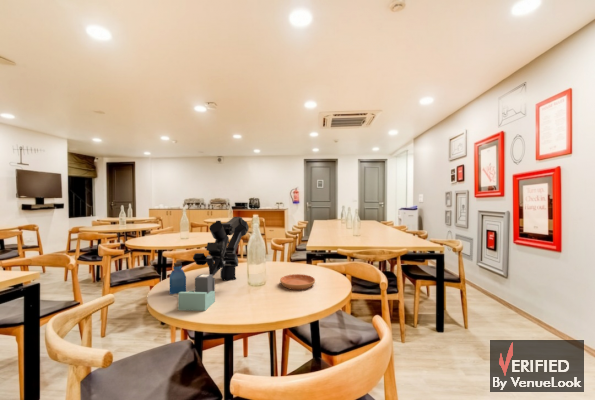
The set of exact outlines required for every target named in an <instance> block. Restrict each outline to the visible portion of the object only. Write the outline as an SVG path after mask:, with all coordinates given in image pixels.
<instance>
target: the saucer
mask: <svg viewBox="0 0 595 400" xmlns="http://www.w3.org/2000/svg"><path fill="white" fill-rule="evenodd" d="M279 281H280V284H281V285H282V286H283V287H284V288H286V289H289V290H295V291H296V290H297V291H299V290H307V289H309V288H311V287H312V286H313V285H314V284H315V282H316V279H315V277H314V276H311V275H307V274H301V273H299V274H298V273H296V274H295V273H294V274H287V275H284V276H281V277H280V280H279Z"/></svg>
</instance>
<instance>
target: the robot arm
mask: <svg viewBox="0 0 595 400" xmlns="http://www.w3.org/2000/svg"><path fill="white" fill-rule="evenodd" d="M208 228H209V231H210V233H211V236H212V238H213V239H215V240H214V242H207V243H206V244H207V245H206V251H208V254H207V255H205V254H204V252H197V253H194V255H193V257H192V259H193V260H194V263H195V264H196V265H197V266H205V265H206V264H207V266H208V274H213V277H214V276H215V274H217V272H218V271H220V272H219V273H220V275H219V276H220V277H219V278H220V279H221V280H222V281H223V282H224V281H229V280H230V281H231V280H237V277H236V267H239V258H238V255H237V254H236V251H237V249H238V246H239V244H240V242H241V239H242V237H244V236H246V235H247V233H248V231H249V224H248V222H247V221H246V220H244V219H243V217H241V216H233V217H232V218H231V219H229V220H228V221H227V222H222V221H221V220H216V221H214V222H213V223H211V224H210V225H209V227H208ZM229 236H231V237H229Z"/></svg>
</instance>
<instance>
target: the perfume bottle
mask: <svg viewBox="0 0 595 400" xmlns="http://www.w3.org/2000/svg"><path fill="white" fill-rule="evenodd" d="M182 268H183V265H182V261H181V262H180V261H178V262H174V263H173V267H172V269H173V270H171V272H170V274H169V295H175V294H176V295H177V294H178V293H179V292H187V276H186V274H185V272H184V270H183V269H182Z"/></svg>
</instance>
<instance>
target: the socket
mask: <svg viewBox="0 0 595 400" xmlns="http://www.w3.org/2000/svg"><path fill="white" fill-rule="evenodd" d="M177 294H178V295H177V297H178V298H177V301H178V302H177V304H178V306H177V307H178V308H177V310H178V311H192V312H193V311H194V312H195V311H197V312H198V311H200V312H205V311H207V310H208V309H209V308H210V307H211V306H212V305H213V304H214V303H215V302H216V297H215V296H216V295H215V294H216V290H215V291H210V292H209V293H208V294H207V292H195V290H188V291H186V292H179V293H177Z"/></svg>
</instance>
